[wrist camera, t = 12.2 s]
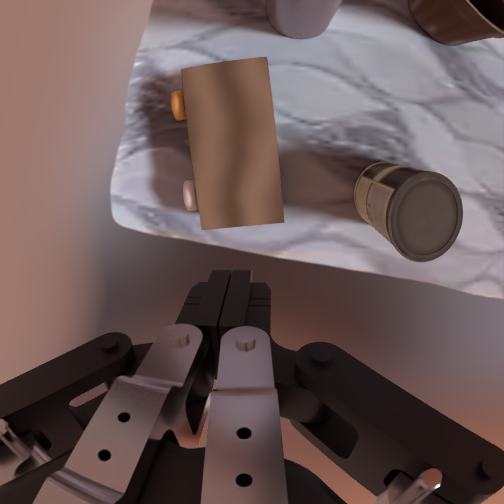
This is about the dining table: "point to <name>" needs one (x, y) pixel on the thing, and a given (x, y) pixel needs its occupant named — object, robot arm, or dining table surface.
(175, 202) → the dining table surface
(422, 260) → the coffee can
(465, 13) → the plant pot
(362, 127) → the dining table surface
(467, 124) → the dining table surface
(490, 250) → the dining table surface
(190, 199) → the ivory button
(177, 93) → the amber button
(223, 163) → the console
